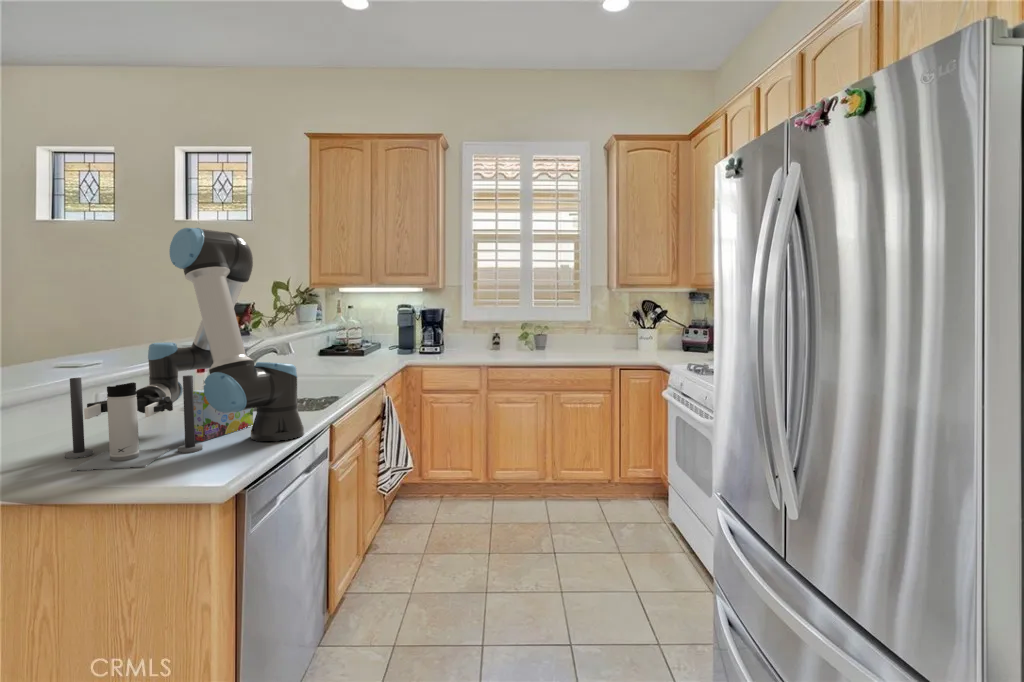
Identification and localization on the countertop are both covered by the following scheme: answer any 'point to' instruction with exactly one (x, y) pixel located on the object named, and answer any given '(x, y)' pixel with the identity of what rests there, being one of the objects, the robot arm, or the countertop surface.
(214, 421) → the snack box
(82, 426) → the post
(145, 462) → the mat
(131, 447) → the travel mug
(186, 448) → the post
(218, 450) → the countertop surface
